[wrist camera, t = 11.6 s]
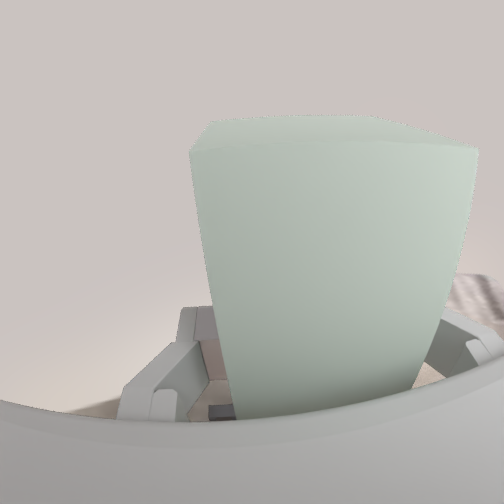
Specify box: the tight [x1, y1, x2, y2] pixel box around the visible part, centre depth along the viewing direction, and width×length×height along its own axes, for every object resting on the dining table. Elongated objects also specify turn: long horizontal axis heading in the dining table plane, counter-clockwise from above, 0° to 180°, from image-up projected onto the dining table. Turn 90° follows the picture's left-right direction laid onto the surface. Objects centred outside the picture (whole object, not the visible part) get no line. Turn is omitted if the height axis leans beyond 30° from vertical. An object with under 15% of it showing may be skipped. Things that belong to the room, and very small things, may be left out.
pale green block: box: [189, 115, 479, 420], centre depth 10 cm, size 5×6×14 cm
